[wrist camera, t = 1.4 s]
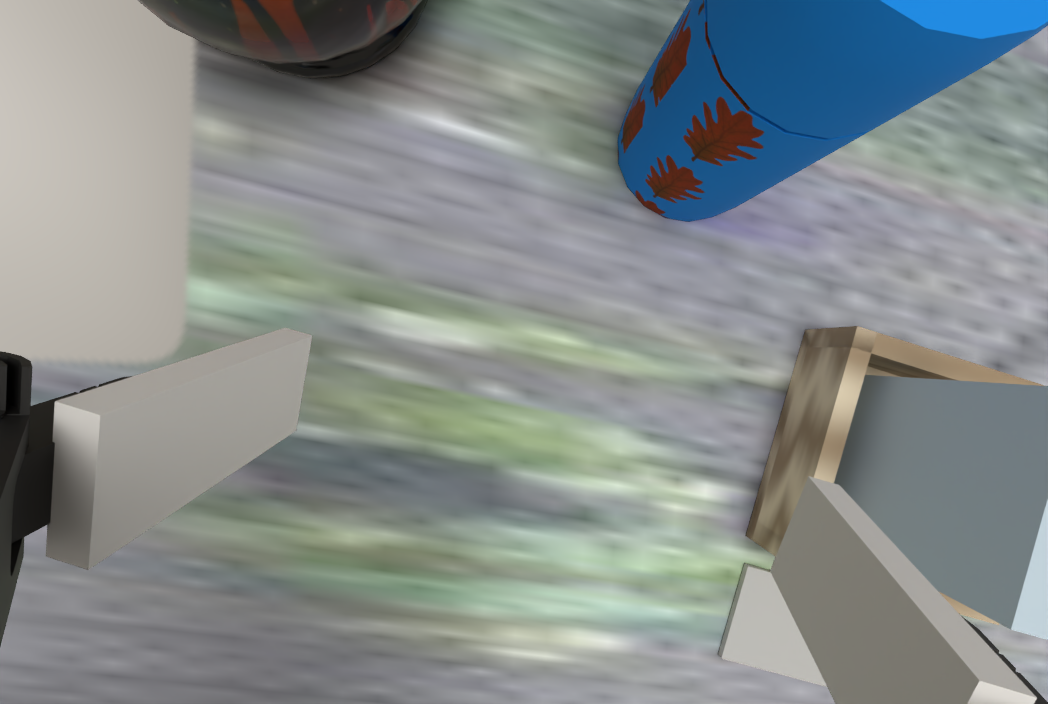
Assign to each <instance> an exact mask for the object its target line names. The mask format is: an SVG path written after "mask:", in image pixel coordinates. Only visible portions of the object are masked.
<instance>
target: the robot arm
mask: <svg viewBox="0 0 1048 704" xmlns="http://www.w3.org/2000/svg"><path fill="white" fill-rule="evenodd" d="M311 340H312V335H309V334H306V333H302V332H298V331H295V330H291V329H288V328H283V329H280V330H276V331H273V332H270V333H267V334H264V335H261V336H258V337H254V338H251V339H248V340H245V341H242V342H239V343H236V344H233V345H229V346H226V347H223V348H220V349H217V350H214V351H211V352H208V353H204V354H201V355H198V356H195V357H192V358H189V359H186V360H183V361H179V362H176V363H173V364H170V365H167V366H164V367H161V368H157V369H154V370H151V371H148V372H145V373H142V374H139V375H136V376H131V377H123V378H119V379H116V380H113V381H109V382H106V383H103V384H100V385H99V386H98V387H96V386H93V387H90V388H87V389H84V390H81V391H80V392H79V393H76V392H74V393H71V394H68V395H65V396H62V397H59V398H55V399H52V400H49V401H46V402H43V403H39V404H36V405H33V406H30V403H31V382H32V365H31V361H29V360H27V359H26V358H24V357H22V356H19V355H15V354H11V353H6V352H0V646H1V642H2V638H3V634H4V630H5V626H6V622H7V618H8V614H9V610H10V607H11V603H12V599H13V595H14V591H15V587H16V583H17V579H18V575H19V572H20V568H21V564H22V560H23V553H24V537H25V536H27V535H29V534H30V533H32V532H34V531H36V530H38V529H40V528H42V527H43V526H45V525H47V524H48V527H47V545H46V556H47V557H50V558H53V559H56V560H59V561H62V562H65V563H68V564H71V565H74V566H78V567H81V568H84V569H87V570H89V569H91V568H92V567H94V566H95V565H97V564H98V563H100V562H101V561H103V560H104V559H105V558H107V557H108V556H110V555H111V554H113V553H114V552H116V551H117V550H119V549H120V548H122V547H123V546H125V545H126V544H128V543H129V542H131V541H132V540H134V539H135V538H137V537H138V536H140V535H141V534H143V533H144V532H146V531H147V530H149V529H150V528H152V527H153V526H155V525H156V524H158V523H159V522H161V521H162V520H164V519H165V518H167V517H168V516H170V515H171V514H173V513H174V512H176V511H177V510H179V509H180V508H182V507H183V506H185V505H186V504H188V503H189V502H191V501H192V500H194V499H195V498H196V497H198V496H199V495H201V494H202V493H204V492H205V491H207V490H208V489H210V488H211V487H213V486H214V485H216V484H217V483H219V482H220V481H222V480H223V479H225V478H226V477H228V476H229V475H231V474H232V473H234V472H235V471H237V470H238V469H240V468H241V467H243V466H244V465H246V464H247V463H249V462H250V461H252V460H253V459H255V458H256V457H258V456H259V455H261V454H262V453H264V452H265V451H267V450H268V449H270V448H271V447H273V446H274V445H276V444H277V443H279V442H280V441H282V440H283V439H285V438H286V437H287V436H289V435H290V434H292V433H293V432H295V431H296V430H297V424H298V418H299V412H300V406H301V400H302V394H303V388H304V382H305V376H306V370H307V364H308V358H309V352H310V346H311ZM770 572H771V574H772V576H773V578H774V580H775V582H776V584H777V586H778V588H779V590H780V592H781V594H782V596H783V598H784V600H785V602H786V604H787V606H788V608H789V610H790V612H791V615H792V617H793V619H794V621H795V623H796V625H797V627H798V629H799V631H800V633H801V635H802V637H803V639H804V641H805V643H806V645H807V647H808V649H809V651H810V653H811V655H812V657H813V659H814V661H815V663H816V665H817V667H818V669H819V671H820V673H821V675H822V677H823V679H824V681H825V683H826V685H827V687H828V689H829V691H830V693H831V695H832V697H833V699H834V701H835V703H836V704H1048V702H1047V701H1046V700H1045V699H1044V698H1043V697H1042V696H1041V695H1040V694H1039V693H1038V692H1037V690H1036V689H1035V688H1034V687H1033V686H1032V685H1031V684H1030V683H1029V682H1028V681H1027V680H1026V679H1025V678H1024V677H1023V676H1022V675H1021V674H1020V673H1018V672H1016V668H1015V667H1014V666H1013V665H1012V664H1011V663H1010V662H1009V661H1008V660H1007V659H1006V658H1005V657H1004V655H1001V654H999V650H998V649H997V648H996V647H995V646H994V645H993V644H992V643H991V642H990V641H989V640H988V638H987V637H986V636H985V635H984V634H983V633H982V632H981V631H980V630H979V629H978V628H976V627H975V626H974V625H973V624H971V623H970V622H969V621H967V620H966V619H965V618H963V617H962V616H961V615H960V614H959V613H958V612H957V611H956V610H955V609H954V608H953V607H952V606H951V605H950V604H949V603H948V601H947V600H946V599H945V598H944V597H943V596H942V595H941V594H940V593H939V592H938V591H937V590H936V589H935V587H934V586H933V585H932V584H931V583H930V582H929V581H928V580H927V579H926V578H925V577H924V576H923V575H922V573H921V572H920V571H919V570H918V569H917V568H916V567H915V566H914V565H913V564H912V563H911V562H910V561H909V559H908V558H907V557H906V556H905V555H904V554H903V553H902V552H901V551H900V550H899V549H898V548H897V547H896V545H895V544H894V543H893V542H892V541H891V540H890V539H889V538H888V537H887V536H886V535H885V534H884V533H883V531H882V530H881V529H880V528H879V527H878V526H877V525H876V524H875V523H874V522H873V521H872V520H871V519H870V517H869V516H868V515H867V514H866V513H865V512H864V511H863V510H862V509H861V508H860V507H859V506H858V505H857V503H856V502H855V501H854V500H853V499H852V498H851V497H850V496H849V495H848V494H847V493H846V492H845V491H844V489H843V488H842V487H841V486H840V485H838V484H834V483H831V482H827V481H824V480H820V479H817V478H813V477H810V476H808V478H807V481H806V483H805V486H804V488H803V491H802V493H801V496H800V498H799V501H798V503H797V506H796V508H795V510H794V513H793V515H792V518H791V520H790V523H789V525H788V528H787V530H786V533H785V535H784V538H783V540H782V542H781V545H780V547H779V550H778V552H777V555H776V557H775V560H774V562H773V565H772V567H771V570H770Z"/></svg>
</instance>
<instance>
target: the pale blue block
mask: <svg viewBox="0 0 1048 704" xmlns="http://www.w3.org/2000/svg"><path fill="white" fill-rule="evenodd" d="M834 484H838V485H840V486H841V487H842V488H843V489H844V491H845V492H846V493H847V494H848V495H849V496H850V497H851V498H852V499H853V500H854V501H855V502H856V503H857V505H858V506H859V507H860V508H861V509H862V510H863V511H864V512H865V513H866V514H867V515H868V516H869V517H870V519H871V520H872V521H873V522H874V523H875V524H876V525H877V526H878V527H879V528H880V529H881V530H882V531H883V533H884V534H885V535H886V536H887V537H888V538H889V539H890V540H891V541H892V542H893V543H894V544H895V545H896V547H897V548H898V549H899V550H900V551H901V552H902V553H903V554H904V555H905V556H906V557H907V558H908V559H909V561H910V562H911V563H912V564H913V565H914V566H915V567H916V568H917V569H918V570H919V571H920V572H921V573H922V575H923V576H924V577H925V578H926V579H927V580H928V581H929V582H930V583H931V584H932V585H933V586H934V587H935V589H936V590H937V591H939V592H941V593H943V594H945V595H946V596H948V597H950V598H952V599H954V600H956V601H958V602H960V603H962V604H963V605H965V606H967V607H969V608H971V609H973V610H975V611H977V612H979V613H981V614H982V615H984V616H986V617H988V618H990V619H992V620H994V621H996V622H998V623H1000V624H1001V625H1003V626H1005V627H1007V628H1009V629H1011V630H1014V631H1018V632H1021V633H1025V634H1028V635H1032V636H1035V637H1039V638H1043V639H1046V640H1048V386H1037V385H1021V384H1005V383H989V382H973V381H957V380H941V379H925V378H909V377H893V376H877V375H865V377H864V380H863V384H862V387H861V391H860V394H859V398H858V401H857V404H856V408H855V411H854V415H853V418H852V422H851V425H850V429H849V432H848V436H847V439H846V443H845V446H844V450H843V453H842V457H841V460H840V464H839V467H838V471H837V474H836V478H835V481H834Z"/></svg>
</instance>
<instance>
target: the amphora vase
mask: <svg viewBox="0 0 1048 704" xmlns="http://www.w3.org/2000/svg"><path fill="white" fill-rule="evenodd" d="M138 1H139V2H140V3H141V4H143V5H144V6H145V7H147V8H148V9H149V10H150V11H151V12H152V13H154V14H155V15H156V16H157V17H159V18H160V19H161V20H162V21H163V22H165V23H166V24H167V25H168V26H170V27H172V28H174V29H176V30H178V31H180V32H182V33H185V34H187V35H189V36H191V37H193V38H195V39H197V40H199V41H201V42H203V43H205V44H208V45H210V46H212V47H214V48H216V49H219V50H222V51H224V52H227V53H230V54H233V55H238V56H243V57H248V58H250V59H252V60H254V61H256V62H258V63H260V64H262V65H265V66H267V67H269V68H271V69H273V70H275V71H277V72H281V73H286V74H291V75H296V76H301V77H306V78H318V77H334V76H342V75H345V74H348V73H351V72H354V71H357V70H360V69H363V68H366V67H369V66H371V65H373V64H374V63H376V62H377V61H379V60H380V59H382V58H383V57H385V56H386V55H388V54H389V53H391V52H392V51H394V50H395V49H396V48H397V47H398V46H399V45H400V44H401V43H402V41H403V40H404V39H405V38H406V37H407V36H408V34H409V33H410V32H411V31H412V30H413V29H414V27H415V26H416V24H417V22H418V20H419V18H420V15H421V13H422V11H423V9H424V7H425V5H426V3H427V1H428V0H138Z"/></svg>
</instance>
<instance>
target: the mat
mask: <svg viewBox="0 0 1048 704" xmlns="http://www.w3.org/2000/svg"><path fill="white" fill-rule="evenodd" d="M718 655H719V656H720V657H721V659H725V660H729V661H732V662H736V663H740V664H743V665H747V666H751V667H755V668H758V669H762V670H766V671H770V672H773V673H777V674H781V675H784V676H788V677H792V678H796V679H799V680H803V681H807V682H810V683H814V684H818V685H822V686H825V687H827V685H826V683H825V681H824V679H823V677H822V675H821V673H820V671H819V669H818V667H817V665H816V663H815V661H814V659H813V657H812V655H811V653H810V651H809V649H808V647H807V645H806V643H805V641H804V639H803V637H802V635H801V633H800V631H799V629H798V627H797V625H796V623H795V621H794V619H793V617H792V615H791V612H790V610H789V608H788V606H787V604H786V602H785V600H784V598H783V596H782V594H781V592H780V590H779V588H778V586H777V584H776V582H775V580H774V578H773V576H772V574H771V572H770V570H767V569H763V568H760V567H756V566H753V565H749V564H746V563H744V567H743V570H742V573H741V577H740V580H739V584H738V587H737V591H736V594H735V598H734V601H733V604H732V608H731V611H730V615H729V618H728V622H727V625H726V629H725V632H724V636H723V639H722V642H721V646H720V649H719V653H718Z"/></svg>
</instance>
